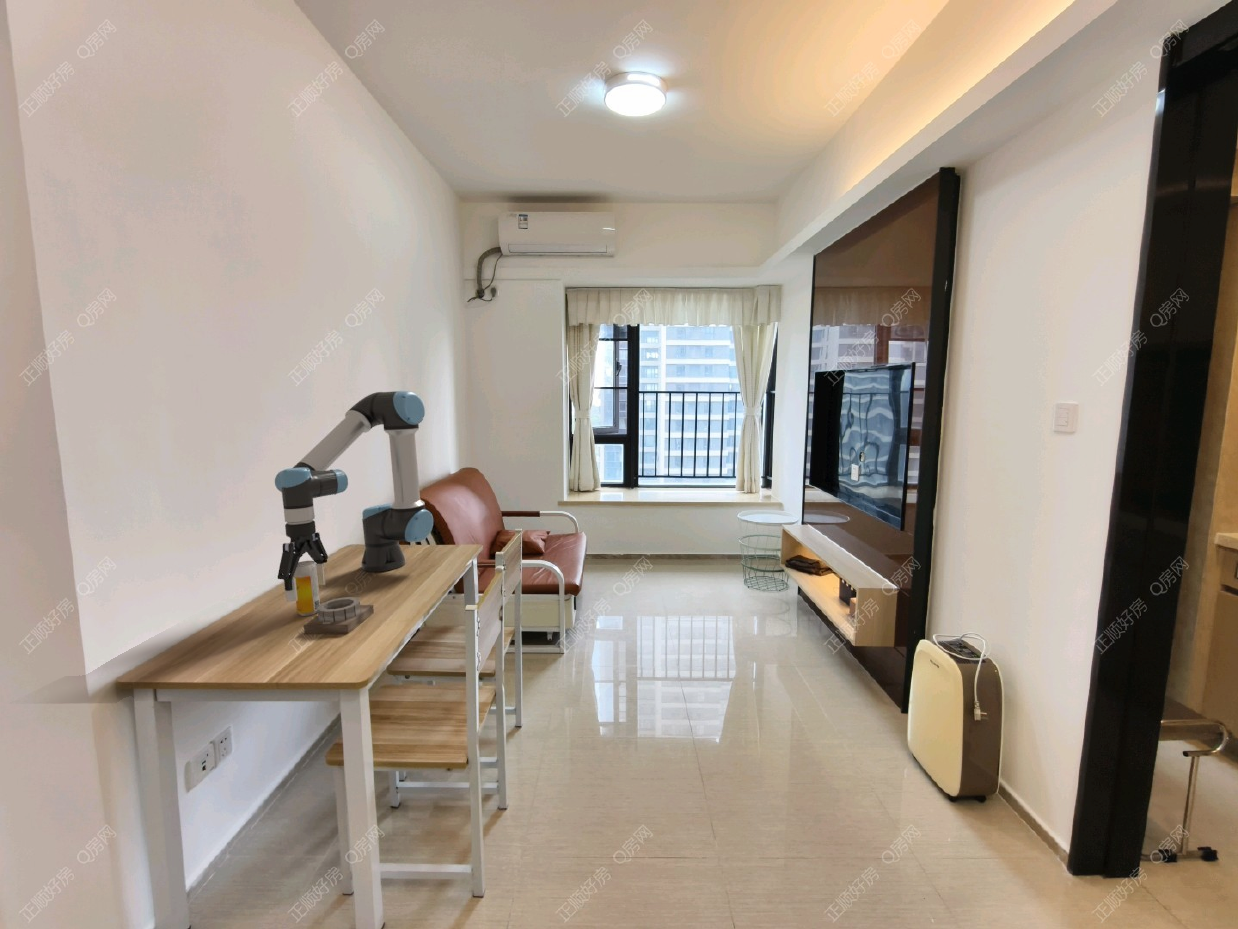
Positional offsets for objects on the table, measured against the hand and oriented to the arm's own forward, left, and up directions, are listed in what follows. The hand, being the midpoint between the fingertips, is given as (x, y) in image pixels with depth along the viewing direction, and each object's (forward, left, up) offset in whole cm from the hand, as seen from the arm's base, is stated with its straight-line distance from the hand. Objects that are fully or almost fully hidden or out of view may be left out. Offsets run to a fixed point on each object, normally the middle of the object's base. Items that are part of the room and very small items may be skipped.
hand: (306, 592), depth 161 cm
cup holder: (+8, +14, -6) cm, 17 cm away
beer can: (0, 0, -6) cm, 6 cm away
